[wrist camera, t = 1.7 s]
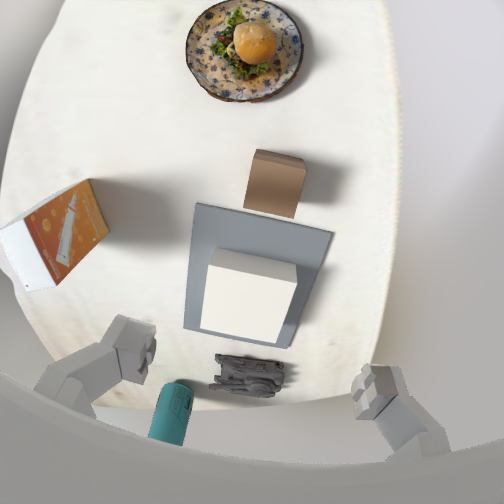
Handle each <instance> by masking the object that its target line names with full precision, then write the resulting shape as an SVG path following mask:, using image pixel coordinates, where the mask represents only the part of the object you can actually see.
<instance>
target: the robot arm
mask: <svg viewBox="0 0 504 504" xmlns="http://www.w3.org/2000/svg"><path fill="white" fill-rule="evenodd" d="M155 334H156V326H155V325H153V324H149V323H146V322H143V321H139V320H136V319H133V318H129V317H126V316H123V315H120V314H118V315H117V316H116V317H115V318H114V320H113V321H112V323H111V325H110V326H109V328H108V330H107V331H106V333H105V335H104V336H103V338H102V340H101V341H100V343H97V342H95V343H93V344H91V345H89V346H87V347H85V348H83V349H81V350H79V351H77V352H75V353H73V354H71V355H69V356H67V357H65V358H63V359H61V360H59V361H57V362H55V363H53V364H51V365H49V366H48V367H47V368H46V370H45V372H44V373H43V375H42V377H41V378H40V380H39V381H38V383H37V385H36V386H35V388H34V390H32V389H30V388H28V387H27V386H25V385H23V384H21V383H20V382H18V381H16V380H14V379H13V378H11V377H9V376H8V375H6V374H5V373H3V372H1V371H0V504H504V439H499V440H496V441H492V442H489V443H486V444H482V445H478V446H475V447H471V448H467V449H462V450H458V451H454V452H451V449H450V446H449V442H448V438H447V435H446V432H445V429H444V428H443V427H442V426H441V425H440V424H439V423H438V422H437V421H436V420H435V419H434V418H433V417H432V416H431V415H430V414H429V413H428V412H427V411H426V410H425V409H424V408H423V407H422V406H421V405H420V404H419V403H418V402H417V401H416V399H415V398H413V396H409V393H408V390H407V387H406V384H405V381H404V378H403V374H402V372H401V368H400V367H399V366H395V365H394V366H393V365H382V364H369V363H367V364H365V365H364V366H363V367H362V369H361V371H362V373H361V374H359V375H357V376H356V377H355V379H354V380H353V383H352V387H351V394H352V398H353V399H354V400H355V401H356V403H355V404H354V413H355V419H356V420H373V422H374V423H375V425H376V426H377V428H378V429H379V430H380V432H381V433H382V435H383V436H384V437H385V439H386V440H387V442H388V443H389V445H390V446H391V447H392V449H393V450H394V453H393V454H392V455H390V456H389V457H388V458H387V459H386V460H385V461H386V462H379V463H365V464H299V463H284V462H272V461H262V460H253V459H246V458H238V457H232V456H226V455H220V454H215V453H209V452H205V451H200V450H195V449H190V448H186V447H182V446H178V445H174V444H170V443H166V442H163V441H159V440H155V439H152V438H148V437H145V436H142V435H138V434H136V433H132V432H129V431H126V430H123V429H121V428H118V427H115V426H112V425H109V424H107V423H104V422H102V421H99V420H96V415H95V413H94V411H93V408H92V406H91V404H90V403H91V402H93V401H94V400H96V399H97V398H98V397H100V396H101V395H103V394H104V393H105V392H107V391H108V390H110V389H111V388H112V387H114V386H115V385H116V384H118V383H119V382H121V381H122V379H123V380H127V381H130V382H133V383H137V384H141V385H143V384H144V381H145V379H146V376H147V374H148V365H149V364H151V363H152V361H153V359H154V355H155V351H156V339H155V338H154V336H155Z"/></svg>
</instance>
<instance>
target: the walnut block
mask: <svg viewBox="0 0 504 504" xmlns="http://www.w3.org/2000/svg"><path fill="white" fill-rule="evenodd" d="M306 171H307V170H306V167H305V165H304V162H303V160H302V159H298V158H294V157H290V156H286V155H282V154H277V153H273V152H268V151H264V150H259V149H256V152H255V154H254V157H253V161H252V166H251V171H250V176H249V181H248V185H247V190H246V195H245V200H244V205H243V208H246V209H251V210H256V211H260V212H265V213H270V214H274V215H279V216H283V217H288V218H292V219H294V215H295V212H296V208H297V204H298V201H299V197H300V194H301V190H302V186H303V183H304V179H305V175H306Z"/></svg>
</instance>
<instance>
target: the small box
mask: <svg viewBox="0 0 504 504" xmlns="http://www.w3.org/2000/svg"><path fill="white" fill-rule="evenodd" d="M108 233H109V229H108V227H107V225H106V223H105V221H104V219H103V216H102V214H101V211H100V209H99V207H98V204H97V202H96V199H95V196H94V194H93V191H92V189H91V186H90V183H89V180H88V179H85V180H82V181H80V182H78V183H75V184H73V185H71V186H69V187H66V188H64V189H62V190H60V191H58V192H56V193H54V194H52V195H51V196H49V197H47V198H46V199H44V200H43V201H41V202H39V203H38V204H36V205H35V206H33V207H32V208H30V209H29V210H27V211H26V212H24V213H23V214H21V215H20V216H18V217H17V218H15V219H14V220H12V221H11V222H9V223H8V224H7V225H5V226H4V227H2V228H1V229H0V242H1V244H2V246H3V248H4V250H5V252H6V254H7V257H8V259H9V261H10V263H11V265H12V267H13V269H14V270H15V272H16V273H17V275H18V277H19V279H20V281H21V282H22V284H23V286H24V287H25V289H26V291H27V292H30V291H35V290H41V289H45V288H51V287H56V286H57V285H58V284H59V283H60V282H61V281H62V280H63V279H64V278H65V277H66V276H67V275H68V274H69V273H70V271H71V270H72V269H73V268H74V267H75V266H76V265H77V264H78V263H79V262H80V261H81V260H82V259H83V258H84V257H85V256H86V255H87V254H88V253H89V252H90V251H91V250H92V249H93V248H94V247H95V246H96V245H97V244H98V243H99V242H100V241H101V240H102V239H103V238H104V237H105V236H106V235H107V234H108Z"/></svg>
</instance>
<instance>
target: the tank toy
mask: <svg viewBox="0 0 504 504" xmlns="http://www.w3.org/2000/svg"><path fill="white" fill-rule="evenodd" d="M215 360H216V362H218V364H221V368H222V369H221V377H220V376H218V375H215V376H214V381H215V382H217V384H215V383H213V384H209V389H214V390H216V389H224V390H227V391H229V392H230V393H233V394H238V395H246V396H254V397H258V398H259V397H263V398H269V397H274V396H275V392H279V391H280V390H281V385H282V383H283V380H284V372H283V371H282V369H283V366H284V365H283V363H282V362H277V365H276V363H273V362H268V361H266V362H265V361H259V360H250V359H244V358H238V357H237V358H235V357H229V356H221V354H215Z"/></svg>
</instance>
